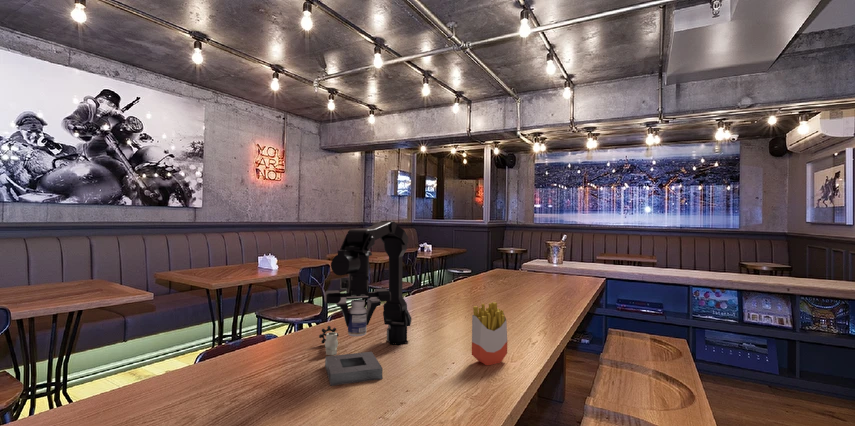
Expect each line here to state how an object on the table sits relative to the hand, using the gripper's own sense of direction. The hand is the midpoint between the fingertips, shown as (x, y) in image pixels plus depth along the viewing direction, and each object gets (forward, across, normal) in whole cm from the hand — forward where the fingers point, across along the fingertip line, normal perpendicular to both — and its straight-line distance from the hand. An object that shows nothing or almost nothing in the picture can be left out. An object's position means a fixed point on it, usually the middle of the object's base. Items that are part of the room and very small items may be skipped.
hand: (357, 325), depth 113 cm
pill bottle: (+3, 0, 0) cm, 3 cm away
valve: (+13, +5, -21) cm, 25 cm away
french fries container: (+13, -41, +6) cm, 43 cm away
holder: (+13, +1, +1) cm, 13 cm away
